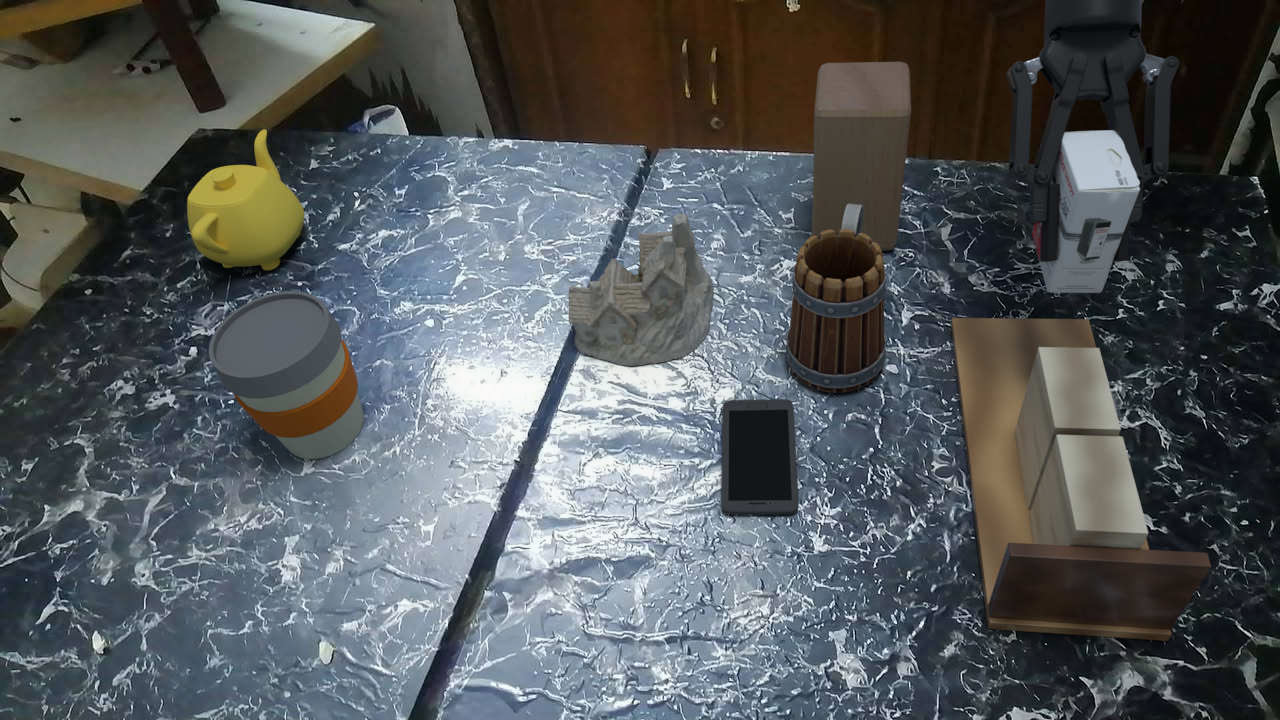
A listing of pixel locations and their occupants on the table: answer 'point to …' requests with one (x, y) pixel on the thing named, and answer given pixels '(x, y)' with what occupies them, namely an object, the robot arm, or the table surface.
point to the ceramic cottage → (646, 303)
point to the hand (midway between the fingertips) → (1082, 260)
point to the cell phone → (759, 457)
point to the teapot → (245, 213)
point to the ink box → (1089, 210)
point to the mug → (838, 309)
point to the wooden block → (861, 146)
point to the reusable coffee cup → (290, 372)
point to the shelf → (994, 443)
